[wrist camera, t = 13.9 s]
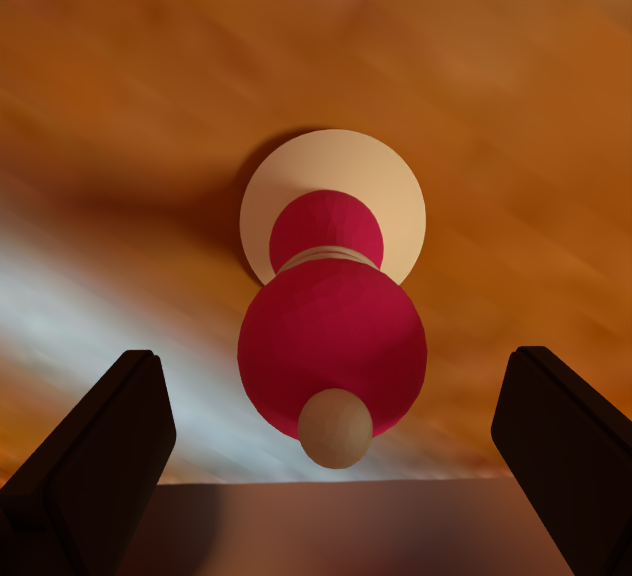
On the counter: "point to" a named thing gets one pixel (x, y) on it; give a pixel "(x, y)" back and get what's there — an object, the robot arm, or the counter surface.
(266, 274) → the disc
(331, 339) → the pepper mill
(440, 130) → the counter surface
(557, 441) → the robot arm
